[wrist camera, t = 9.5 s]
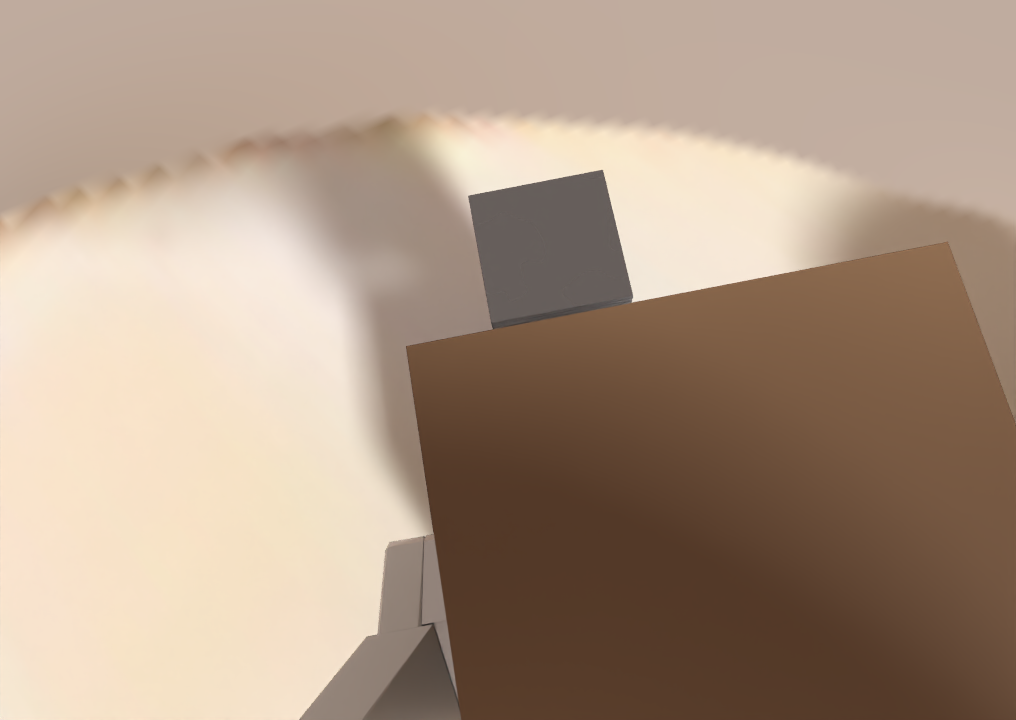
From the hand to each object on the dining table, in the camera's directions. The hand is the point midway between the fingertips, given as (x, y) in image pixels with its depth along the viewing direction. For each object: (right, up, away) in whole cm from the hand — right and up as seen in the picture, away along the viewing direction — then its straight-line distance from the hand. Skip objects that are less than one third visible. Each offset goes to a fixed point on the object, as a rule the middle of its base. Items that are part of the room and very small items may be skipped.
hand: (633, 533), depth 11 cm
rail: (+1, -3, +7) cm, 8 cm away
